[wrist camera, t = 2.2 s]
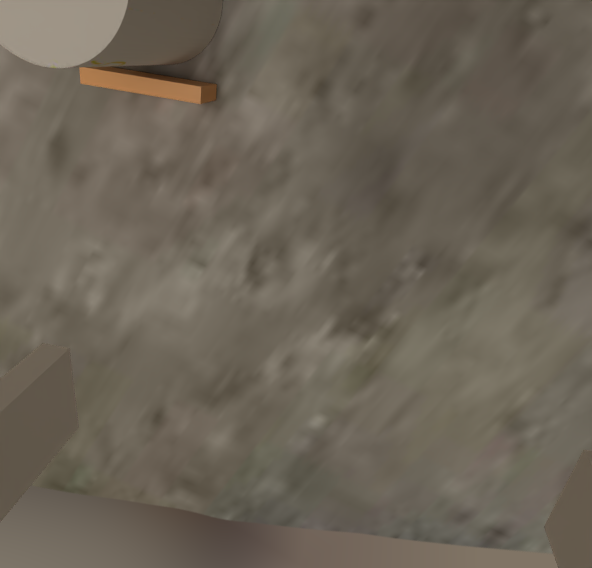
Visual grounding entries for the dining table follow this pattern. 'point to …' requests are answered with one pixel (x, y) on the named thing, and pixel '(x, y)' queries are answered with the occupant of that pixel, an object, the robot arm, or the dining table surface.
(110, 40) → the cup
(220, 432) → the dining table surface
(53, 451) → the robot arm
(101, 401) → the dining table surface
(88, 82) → the bars
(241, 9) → the dining table surface
